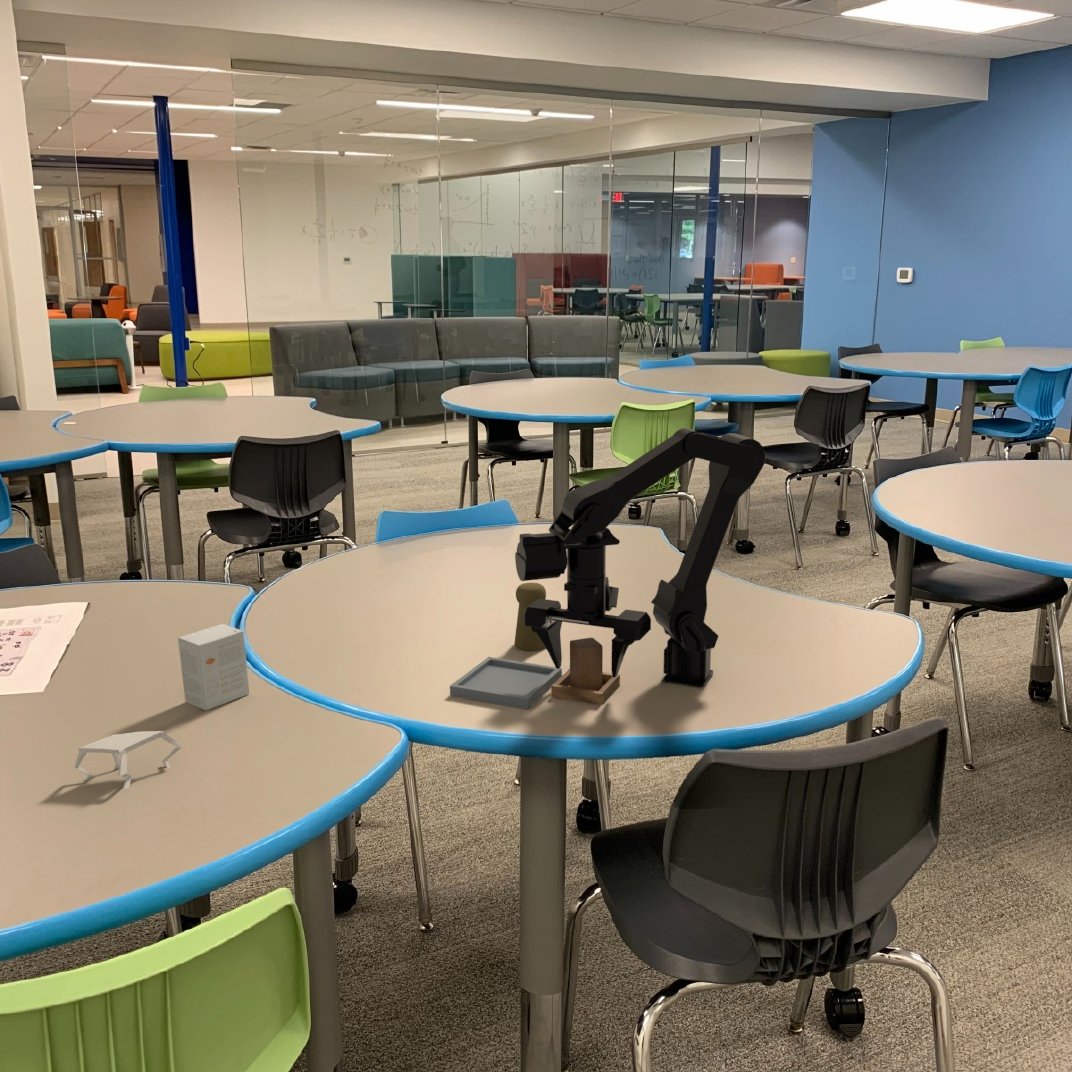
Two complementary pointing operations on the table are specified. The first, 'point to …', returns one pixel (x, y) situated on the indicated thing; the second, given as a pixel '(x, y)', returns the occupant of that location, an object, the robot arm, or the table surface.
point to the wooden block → (586, 664)
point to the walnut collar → (584, 695)
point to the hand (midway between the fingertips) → (586, 672)
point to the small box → (213, 666)
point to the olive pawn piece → (523, 635)
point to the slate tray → (506, 682)
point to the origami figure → (123, 749)
